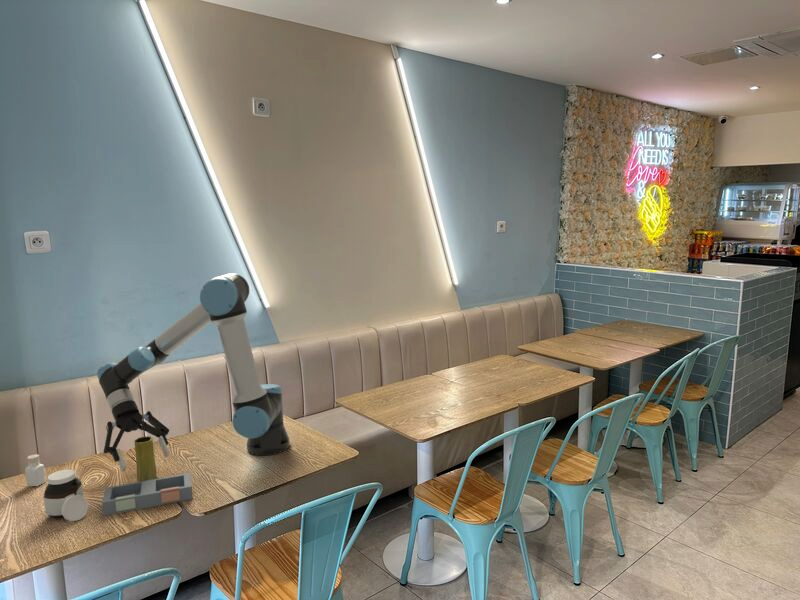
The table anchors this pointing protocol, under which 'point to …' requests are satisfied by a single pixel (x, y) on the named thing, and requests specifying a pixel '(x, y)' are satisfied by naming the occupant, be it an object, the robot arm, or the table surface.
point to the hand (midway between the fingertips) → (146, 461)
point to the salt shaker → (35, 471)
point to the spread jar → (65, 496)
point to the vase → (145, 459)
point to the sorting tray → (146, 494)
